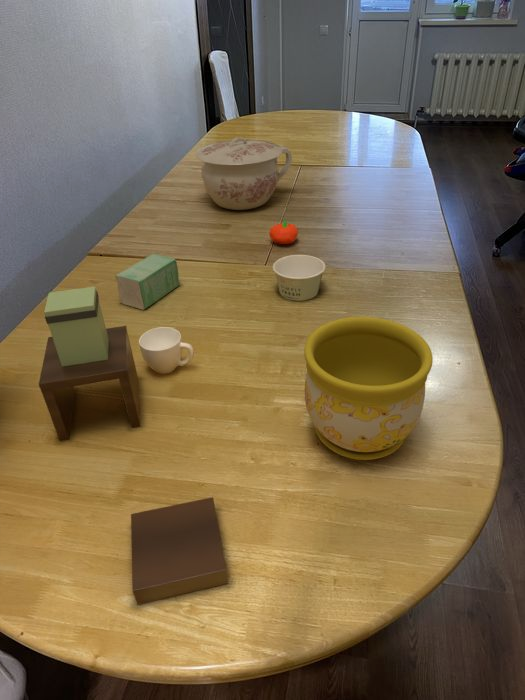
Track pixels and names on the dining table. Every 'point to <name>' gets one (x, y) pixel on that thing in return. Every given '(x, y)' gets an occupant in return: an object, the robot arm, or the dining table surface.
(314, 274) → the food container
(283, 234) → the pumpkin
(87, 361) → the block
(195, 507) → the brown square tile
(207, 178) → the chamber pot
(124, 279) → the box
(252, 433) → the dining table surface
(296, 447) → the dining table surface
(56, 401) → the wooden stool
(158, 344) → the cup
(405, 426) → the flowerpot
